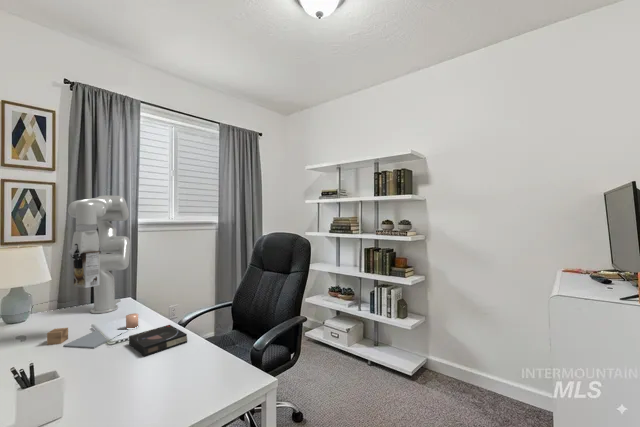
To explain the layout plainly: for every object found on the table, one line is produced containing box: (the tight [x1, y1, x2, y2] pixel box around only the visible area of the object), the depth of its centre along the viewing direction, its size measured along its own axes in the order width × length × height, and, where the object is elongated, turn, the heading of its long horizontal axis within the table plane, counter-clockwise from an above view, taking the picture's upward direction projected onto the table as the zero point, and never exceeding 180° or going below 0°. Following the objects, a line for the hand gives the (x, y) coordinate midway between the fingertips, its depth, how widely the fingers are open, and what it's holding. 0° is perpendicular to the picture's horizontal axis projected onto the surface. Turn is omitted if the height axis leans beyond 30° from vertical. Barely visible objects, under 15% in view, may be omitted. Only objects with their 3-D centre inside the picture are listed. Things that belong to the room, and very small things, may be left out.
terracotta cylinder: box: [125, 313, 139, 329], centre depth 143 cm, size 5×5×6 cm
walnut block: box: [46, 327, 69, 346], centre depth 128 cm, size 5×5×5 cm
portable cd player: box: [128, 324, 188, 357], centre depth 126 cm, size 16×17×4 cm
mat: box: [63, 329, 107, 349], centre depth 131 cm, size 18×14×1 cm
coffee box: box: [73, 251, 101, 289], centre depth 139 cm, size 9×6×16 cm
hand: (86, 266), depth 139 cm, fingers closed on coffee box, 7 cm apart
